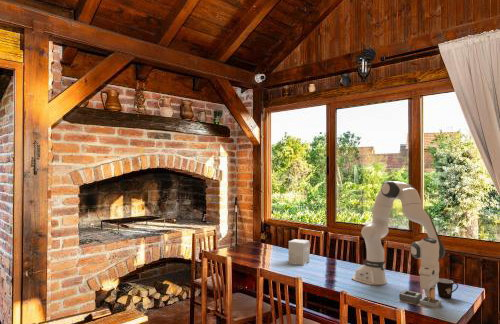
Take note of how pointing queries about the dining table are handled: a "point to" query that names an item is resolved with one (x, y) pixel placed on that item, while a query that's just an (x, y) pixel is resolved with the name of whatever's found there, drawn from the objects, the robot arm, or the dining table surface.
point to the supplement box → (298, 251)
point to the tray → (429, 304)
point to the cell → (431, 296)
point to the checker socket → (409, 298)
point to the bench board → (419, 304)
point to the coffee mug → (445, 288)
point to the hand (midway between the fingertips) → (430, 294)
